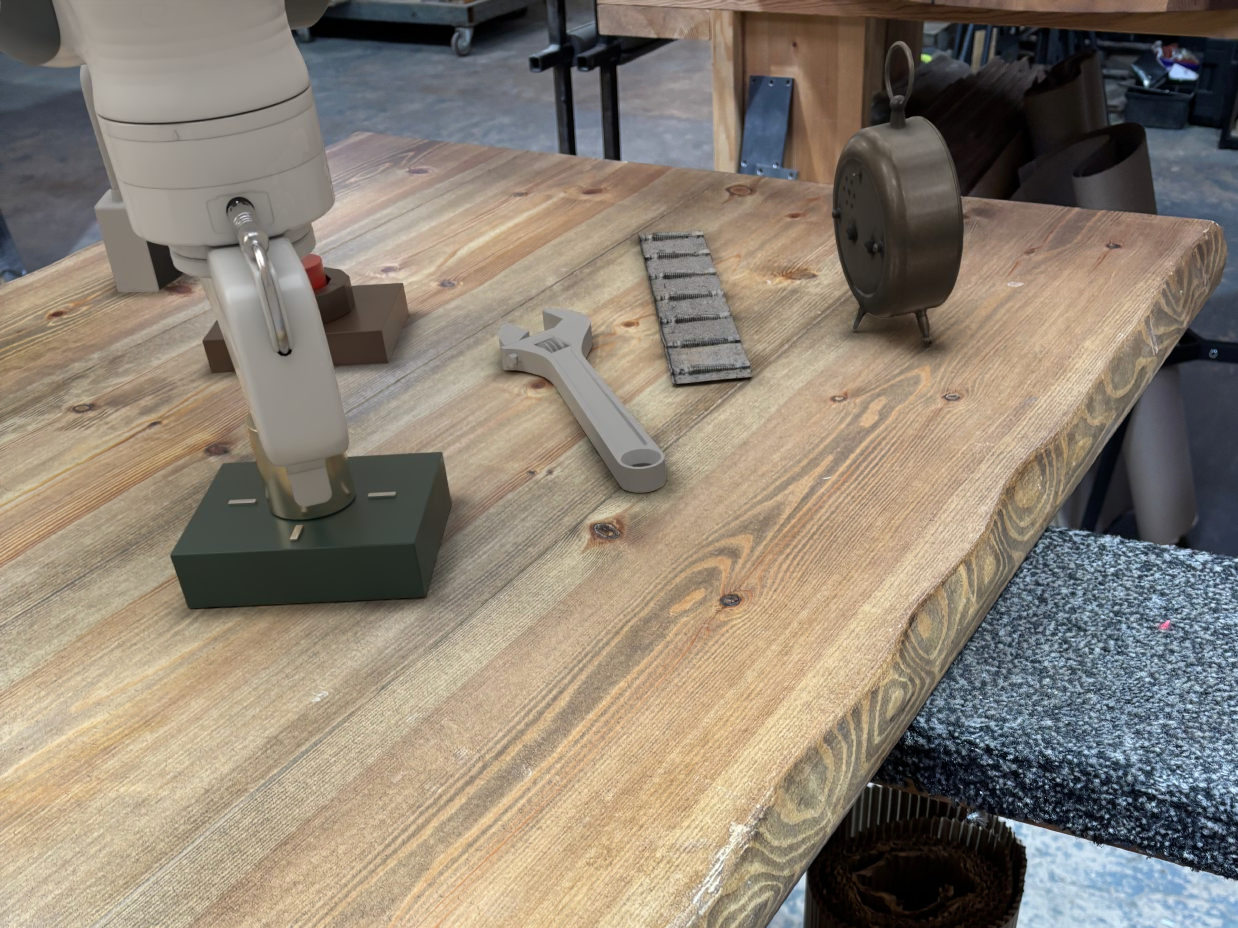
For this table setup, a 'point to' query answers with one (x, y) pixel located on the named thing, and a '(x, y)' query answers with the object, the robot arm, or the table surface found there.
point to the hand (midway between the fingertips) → (303, 473)
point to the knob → (280, 489)
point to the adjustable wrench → (586, 395)
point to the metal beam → (692, 309)
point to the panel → (316, 538)
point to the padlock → (125, 227)
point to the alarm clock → (898, 214)
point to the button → (315, 271)
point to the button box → (342, 323)
